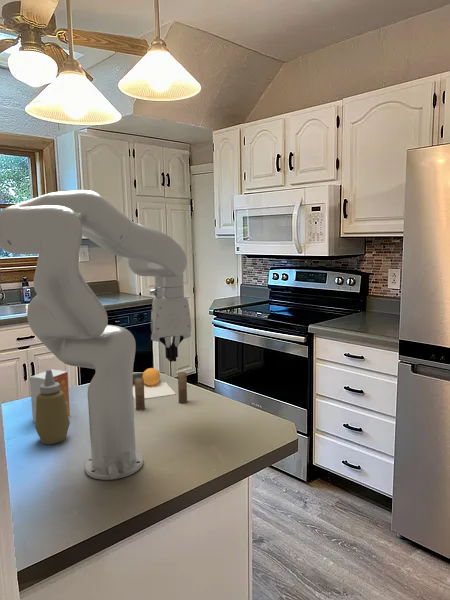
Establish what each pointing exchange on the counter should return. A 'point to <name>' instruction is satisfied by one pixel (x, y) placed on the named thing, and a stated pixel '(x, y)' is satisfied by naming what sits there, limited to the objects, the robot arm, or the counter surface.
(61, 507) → the counter surface
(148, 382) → the ball
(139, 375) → the stopper wall
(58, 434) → the squeeze bottle
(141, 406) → the left post
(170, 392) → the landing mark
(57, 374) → the small box
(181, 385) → the right post
